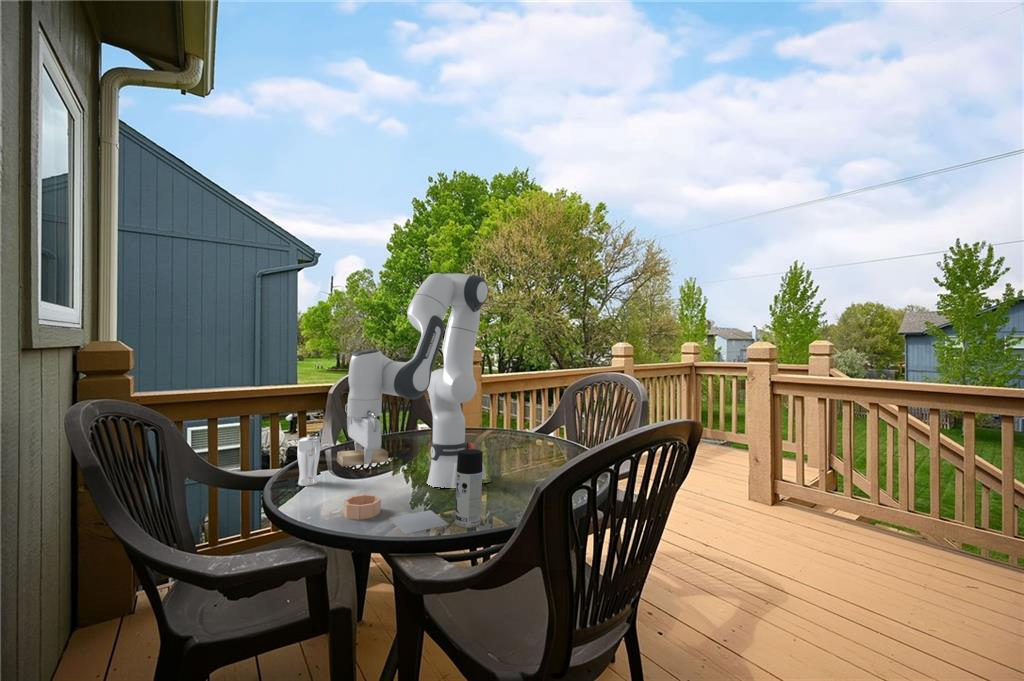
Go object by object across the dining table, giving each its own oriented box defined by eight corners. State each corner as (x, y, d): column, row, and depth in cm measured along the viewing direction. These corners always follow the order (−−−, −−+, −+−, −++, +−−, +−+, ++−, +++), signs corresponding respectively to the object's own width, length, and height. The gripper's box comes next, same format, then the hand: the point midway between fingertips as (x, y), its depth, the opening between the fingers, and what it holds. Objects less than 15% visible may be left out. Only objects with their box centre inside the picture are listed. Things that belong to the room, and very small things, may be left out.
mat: (430, 515, 131) (430, 510, 131) (449, 530, 121) (449, 524, 121) (388, 523, 125) (388, 517, 125) (404, 540, 115) (404, 533, 115)
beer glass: (323, 480, 161) (324, 437, 161) (312, 487, 154) (313, 441, 154) (303, 479, 162) (304, 436, 162) (292, 486, 155) (293, 440, 155)
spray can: (455, 523, 126) (457, 448, 126) (480, 522, 127) (482, 448, 127) (454, 533, 120) (456, 454, 120) (481, 533, 120) (483, 454, 120)
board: (381, 456, 134) (381, 447, 134) (387, 461, 129) (388, 452, 129) (337, 461, 127) (337, 451, 127) (342, 466, 122) (342, 456, 122)
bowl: (373, 510, 134) (374, 492, 134) (383, 520, 127) (383, 502, 127) (340, 516, 129) (341, 497, 129) (349, 527, 122) (349, 507, 122)
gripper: (388, 413, 121) (386, 467, 121) (365, 403, 138) (364, 451, 138) (363, 415, 118) (362, 470, 118) (343, 404, 135) (342, 453, 135)
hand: (363, 459), depth 128 cm, fingers closed on board, 6 cm apart
